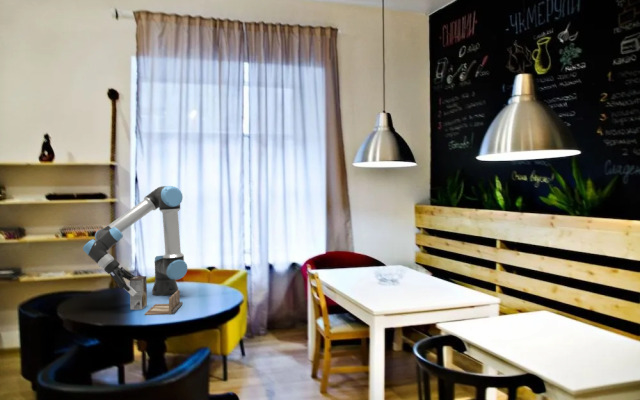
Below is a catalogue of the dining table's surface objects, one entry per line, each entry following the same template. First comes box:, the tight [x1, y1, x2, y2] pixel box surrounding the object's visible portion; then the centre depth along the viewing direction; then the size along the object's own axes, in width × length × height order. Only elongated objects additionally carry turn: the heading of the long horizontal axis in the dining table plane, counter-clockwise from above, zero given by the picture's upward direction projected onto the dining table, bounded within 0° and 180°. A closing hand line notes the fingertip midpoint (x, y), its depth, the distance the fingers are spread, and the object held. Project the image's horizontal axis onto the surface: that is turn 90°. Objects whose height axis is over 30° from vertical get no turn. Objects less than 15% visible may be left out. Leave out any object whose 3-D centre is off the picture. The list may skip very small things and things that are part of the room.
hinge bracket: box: [144, 289, 183, 316], centre depth 244 cm, size 20×15×8 cm
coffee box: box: [129, 275, 148, 311], centre depth 249 cm, size 9×6×16 cm
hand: (138, 291), depth 249 cm, fingers open, 13 cm apart
